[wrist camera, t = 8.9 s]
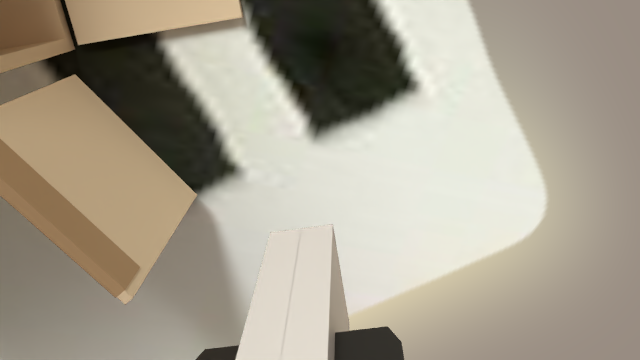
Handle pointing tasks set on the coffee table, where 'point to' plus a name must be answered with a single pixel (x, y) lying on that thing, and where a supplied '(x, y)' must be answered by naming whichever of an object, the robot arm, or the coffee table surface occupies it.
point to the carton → (94, 23)
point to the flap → (89, 183)
